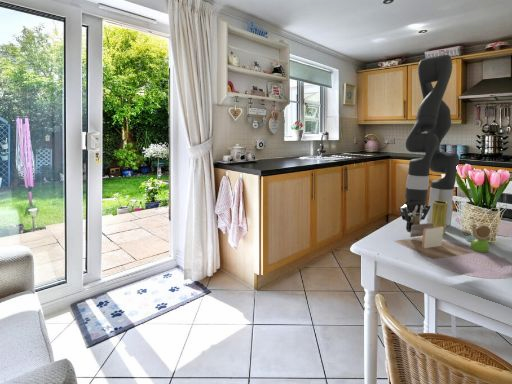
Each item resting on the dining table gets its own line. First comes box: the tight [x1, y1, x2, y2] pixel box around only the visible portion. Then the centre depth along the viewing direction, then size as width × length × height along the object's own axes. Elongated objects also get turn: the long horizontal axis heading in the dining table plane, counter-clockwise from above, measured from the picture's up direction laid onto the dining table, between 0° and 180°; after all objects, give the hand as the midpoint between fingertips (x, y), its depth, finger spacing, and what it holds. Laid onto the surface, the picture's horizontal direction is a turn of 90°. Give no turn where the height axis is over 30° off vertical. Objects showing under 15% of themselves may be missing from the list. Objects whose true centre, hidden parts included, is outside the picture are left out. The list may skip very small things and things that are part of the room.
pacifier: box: [464, 228, 477, 243], centre depth 123 cm, size 7×6×6 cm
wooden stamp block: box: [406, 215, 433, 238], centre depth 121 cm, size 6×10×7 cm, turn 109°
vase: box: [430, 201, 448, 235], centre depth 130 cm, size 6×6×14 cm
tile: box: [422, 226, 444, 248], centre depth 114 cm, size 8×1×7 cm, turn 109°
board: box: [394, 236, 474, 260], centre depth 115 cm, size 18×18×2 cm
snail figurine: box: [470, 220, 491, 253], centre depth 111 cm, size 5×6×12 cm
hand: (412, 230), depth 123 cm, fingers closed on wooden stamp block, 2 cm apart
